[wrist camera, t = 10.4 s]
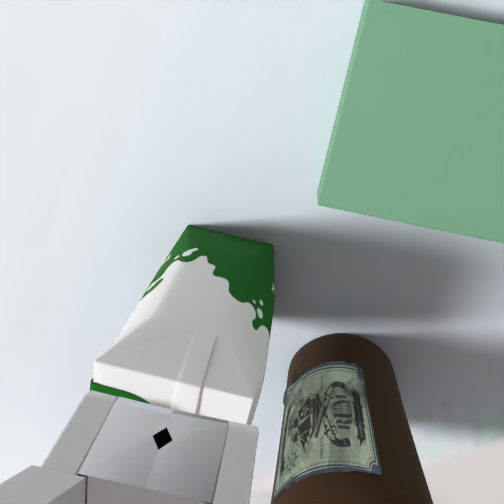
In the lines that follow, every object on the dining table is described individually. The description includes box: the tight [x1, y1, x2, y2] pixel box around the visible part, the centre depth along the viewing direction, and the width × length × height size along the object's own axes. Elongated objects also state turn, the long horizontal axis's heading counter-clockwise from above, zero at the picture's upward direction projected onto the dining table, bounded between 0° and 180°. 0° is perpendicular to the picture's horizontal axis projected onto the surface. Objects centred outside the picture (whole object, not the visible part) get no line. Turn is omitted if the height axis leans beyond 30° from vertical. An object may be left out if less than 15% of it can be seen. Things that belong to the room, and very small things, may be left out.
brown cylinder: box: [271, 334, 433, 504], centre depth 33 cm, size 11×11×25 cm
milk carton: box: [90, 225, 275, 459], centre depth 31 cm, size 9×9×20 cm
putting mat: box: [318, 0, 504, 243], centre depth 32 cm, size 22×13×3 cm, turn 80°
